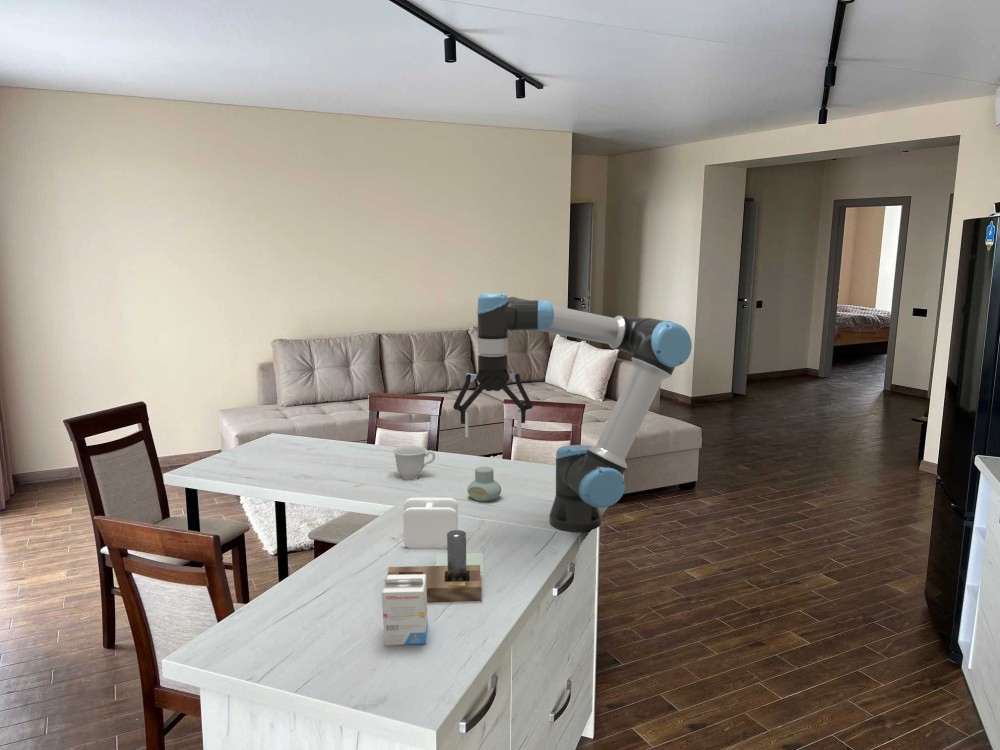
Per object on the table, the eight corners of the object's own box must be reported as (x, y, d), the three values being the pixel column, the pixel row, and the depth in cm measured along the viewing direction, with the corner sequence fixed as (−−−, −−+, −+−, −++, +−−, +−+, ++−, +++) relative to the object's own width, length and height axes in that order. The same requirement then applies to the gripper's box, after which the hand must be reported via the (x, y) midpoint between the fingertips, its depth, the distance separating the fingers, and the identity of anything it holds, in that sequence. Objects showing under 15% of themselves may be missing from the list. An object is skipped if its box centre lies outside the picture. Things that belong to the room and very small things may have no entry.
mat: (482, 555, 193) (482, 552, 193) (483, 574, 182) (483, 572, 181) (436, 556, 193) (436, 553, 193) (435, 575, 181) (435, 573, 181)
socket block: (480, 578, 180) (479, 564, 179) (481, 601, 168) (481, 586, 167) (389, 580, 178) (389, 566, 178) (384, 603, 167) (383, 588, 166)
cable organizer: (400, 550, 196) (399, 509, 194) (405, 535, 207) (404, 496, 205) (456, 550, 196) (456, 509, 194) (458, 535, 207) (458, 496, 205)
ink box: (428, 624, 157) (427, 565, 155) (425, 645, 149) (424, 583, 147) (388, 625, 157) (386, 566, 155) (383, 646, 149) (381, 584, 147)
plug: (466, 585, 176) (465, 529, 173) (466, 594, 171) (466, 537, 169) (448, 586, 175) (447, 530, 173) (447, 594, 171) (446, 537, 169)
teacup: (433, 482, 254) (433, 454, 252) (390, 482, 254) (390, 454, 253) (437, 472, 266) (436, 445, 264) (396, 472, 266) (395, 445, 265)
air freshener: (463, 499, 237) (463, 469, 235) (476, 492, 244) (475, 463, 242) (493, 505, 232) (493, 474, 230) (505, 497, 239) (505, 467, 237)
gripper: (540, 352, 191) (539, 431, 195) (443, 352, 190) (445, 432, 193) (543, 356, 184) (542, 438, 187) (443, 356, 182) (444, 440, 186)
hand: (493, 435), depth 190 cm, fingers open, 13 cm apart
